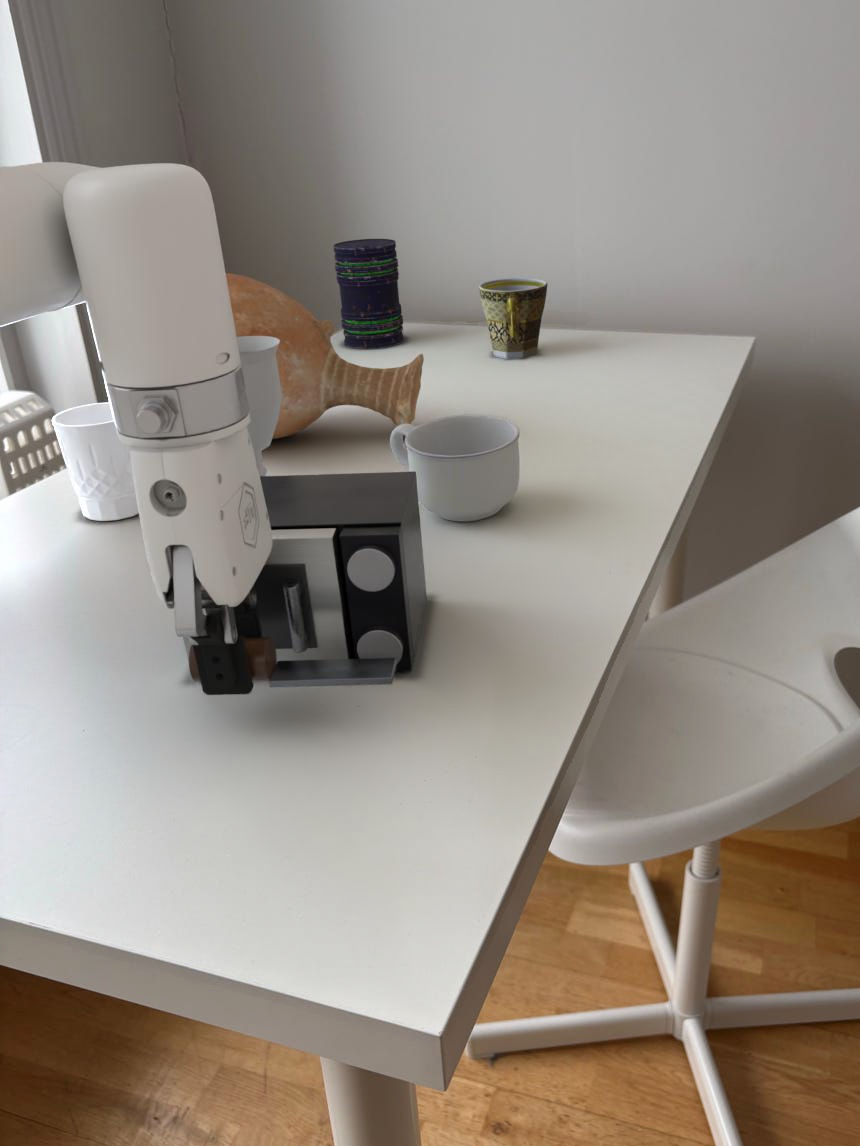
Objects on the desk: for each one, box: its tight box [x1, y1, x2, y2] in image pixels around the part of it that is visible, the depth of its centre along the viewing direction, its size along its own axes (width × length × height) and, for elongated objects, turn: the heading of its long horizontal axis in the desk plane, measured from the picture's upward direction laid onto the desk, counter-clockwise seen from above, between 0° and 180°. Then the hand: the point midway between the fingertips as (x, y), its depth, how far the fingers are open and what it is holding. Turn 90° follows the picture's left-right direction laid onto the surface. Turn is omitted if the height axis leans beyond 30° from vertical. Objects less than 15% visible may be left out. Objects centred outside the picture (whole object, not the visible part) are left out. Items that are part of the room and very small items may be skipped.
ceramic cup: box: [478, 277, 548, 360], centre depth 148 cm, size 13×10×10 cm
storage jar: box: [333, 238, 405, 350], centre depth 160 cm, size 10×10×15 cm
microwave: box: [260, 471, 428, 672], centre depth 75 cm, size 12×16×11 cm
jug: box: [226, 272, 425, 440], centre depth 118 cm, size 20×19×30 cm
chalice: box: [237, 336, 282, 476], centre depth 90 cm, size 7×7×18 cm
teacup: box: [389, 413, 520, 522], centre depth 98 cm, size 14×11×8 cm
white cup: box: [51, 401, 139, 522], centre depth 101 cm, size 8×8×10 cm
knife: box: [188, 637, 397, 688], centre depth 66 cm, size 13×3×3 cm, turn 87°
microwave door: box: [182, 528, 353, 662], centre depth 70 cm, size 3×12×11 cm, turn 87°
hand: (235, 675), depth 67 cm, fingers closed on knife, 2 cm apart
